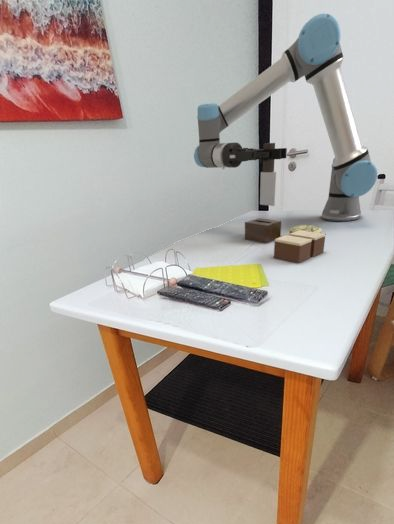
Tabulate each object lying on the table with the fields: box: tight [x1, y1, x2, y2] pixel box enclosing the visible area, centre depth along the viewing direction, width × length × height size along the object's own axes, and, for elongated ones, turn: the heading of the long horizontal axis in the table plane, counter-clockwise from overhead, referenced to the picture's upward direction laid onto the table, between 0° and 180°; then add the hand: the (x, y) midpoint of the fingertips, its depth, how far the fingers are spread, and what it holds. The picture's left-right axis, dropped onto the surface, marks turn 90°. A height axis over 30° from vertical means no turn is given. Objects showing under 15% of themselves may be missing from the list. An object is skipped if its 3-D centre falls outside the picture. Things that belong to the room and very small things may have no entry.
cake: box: [288, 230, 326, 258], centre depth 104 cm, size 6×9×6 cm, turn 41°
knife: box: [259, 142, 277, 207], centre depth 109 cm, size 2×6×18 cm, turn 40°
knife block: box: [244, 217, 282, 244], centre depth 121 cm, size 8×10×6 cm
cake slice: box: [273, 234, 312, 264], centre depth 100 cm, size 6×9×6 cm, turn 41°
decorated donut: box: [288, 224, 323, 234], centre depth 119 cm, size 10×11×4 cm
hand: (283, 153), depth 102 cm, fingers closed on knife, 2 cm apart
